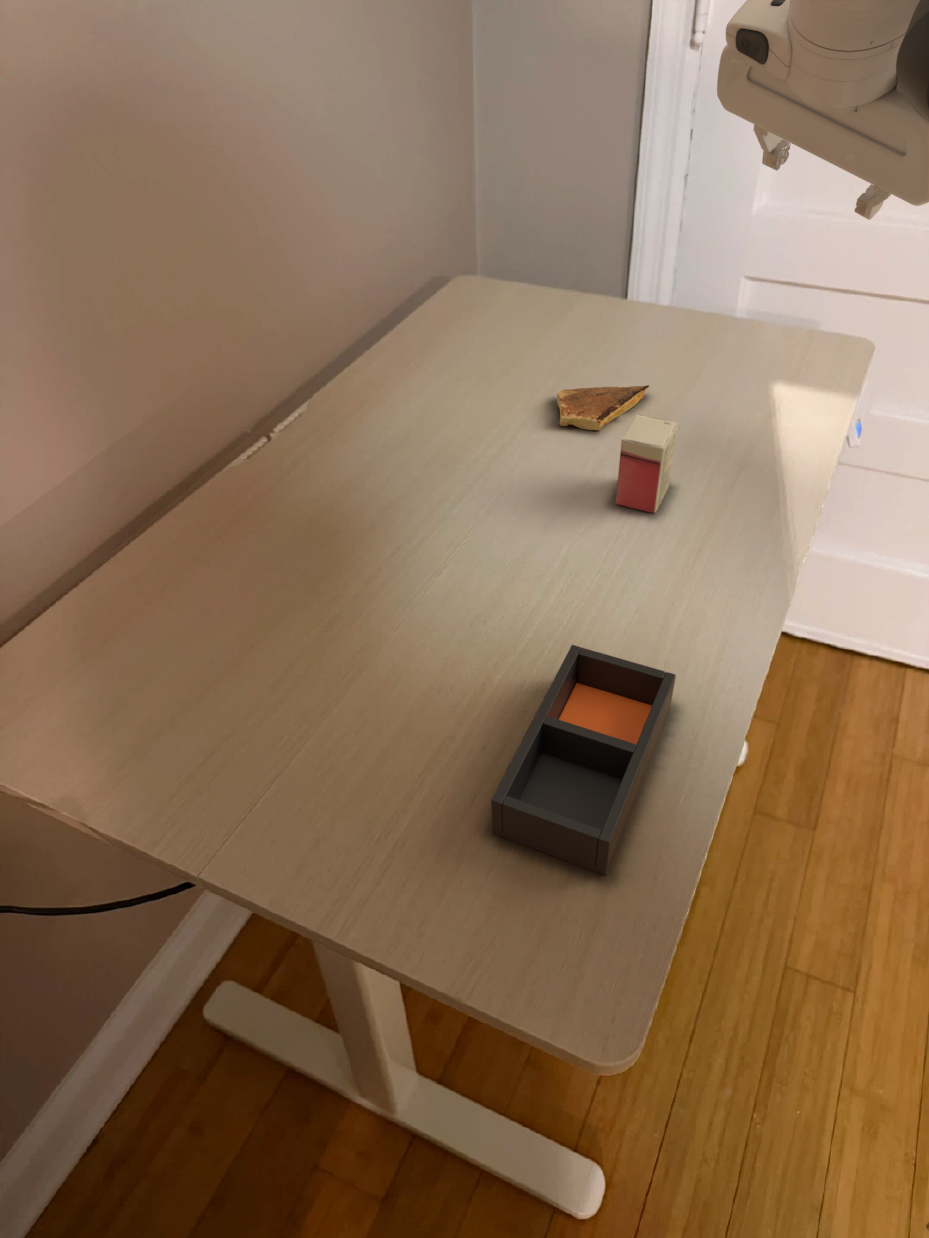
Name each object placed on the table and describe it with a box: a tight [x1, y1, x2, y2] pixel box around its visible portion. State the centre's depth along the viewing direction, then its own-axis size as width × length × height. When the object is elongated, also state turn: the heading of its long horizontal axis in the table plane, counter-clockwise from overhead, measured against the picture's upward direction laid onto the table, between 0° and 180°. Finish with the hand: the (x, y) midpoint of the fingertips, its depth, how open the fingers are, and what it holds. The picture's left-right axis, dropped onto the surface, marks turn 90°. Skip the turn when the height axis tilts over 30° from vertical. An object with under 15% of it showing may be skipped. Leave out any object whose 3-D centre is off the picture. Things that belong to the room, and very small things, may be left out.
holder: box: [490, 644, 677, 876], centre depth 65 cm, size 8×16×4 cm, turn 155°
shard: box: [556, 385, 650, 431], centre depth 102 cm, size 11×8×2 cm
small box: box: [615, 414, 679, 514], centre depth 88 cm, size 5×4×8 cm
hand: (820, 186), depth 76 cm, fingers open, 8 cm apart
